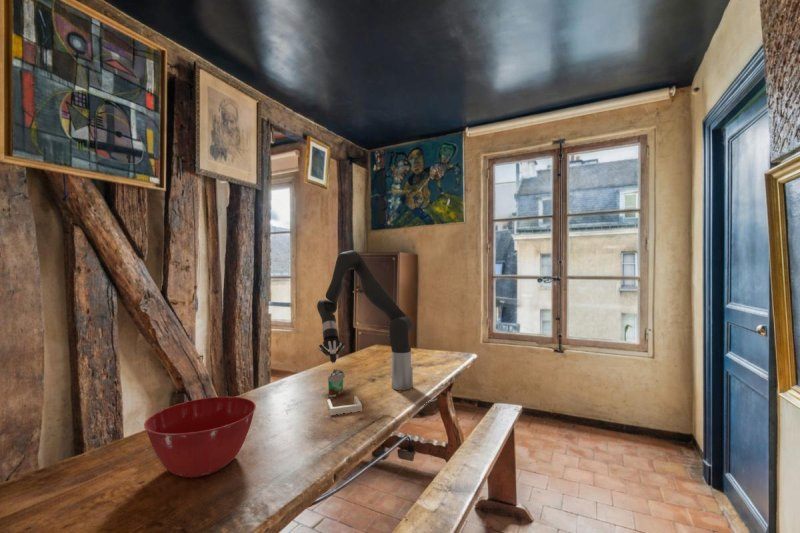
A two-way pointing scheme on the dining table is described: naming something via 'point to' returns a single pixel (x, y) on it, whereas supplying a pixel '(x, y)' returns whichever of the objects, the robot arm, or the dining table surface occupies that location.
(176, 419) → the mixing bowl
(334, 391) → the food container
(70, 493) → the dining table surface
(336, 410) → the bay
